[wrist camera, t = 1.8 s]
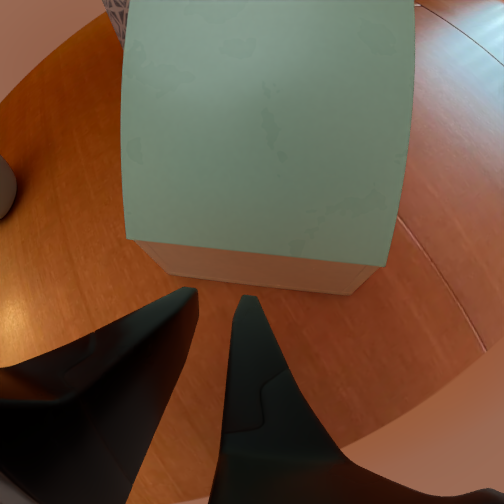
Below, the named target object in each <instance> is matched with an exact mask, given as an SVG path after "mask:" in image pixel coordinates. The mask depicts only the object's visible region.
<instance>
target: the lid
mask: <svg viewBox="0 0 504 504" xmlns="http://www.w3.org/2000/svg"><path fill="white" fill-rule="evenodd" d="M414 73H415V13H414V0H130V3H129V10H128V18H127V26H126V35H125V45H124V57H123V71H122V91H121V169H122V189H123V204H124V217H125V228H126V238H127V239H131V240H140V241H149V242H158V243H167V244H177V245H186V246H195V247H204V248H213V249H222V250H232V251H241V252H250V253H259V254H268V255H278V256H287V257H296V258H305V259H314V260H324V261H333V262H342V263H351V264H361V265H370V266H379V267H385V266H386V262H387V258H388V254H389V250H390V245H391V241H392V237H393V232H394V227H395V223H396V218H397V213H398V208H399V203H400V197H401V192H402V186H403V180H404V173H405V167H406V160H407V153H408V145H409V137H410V128H411V118H412V106H413V92H414Z"/></svg>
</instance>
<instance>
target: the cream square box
mask: <svg viewBox="0 0 504 504" xmlns="http://www.w3.org/2000/svg"><path fill="white" fill-rule="evenodd" d="M134 241H135V242H136V243H137V244H138V245H139V246H140V247H141V248H142V249H143V250H144V251H145V252H146V253H147V254H148V255H149V256H150V257H151V258H152V259H153V260H154V261H155V262H156V263H157V264H158V265H159V266H160V267H161V268H162V269H163V270H164V271H165V272H166V273H167V274H169V275H176V276H183V277H191V278H198V279H206V280H213V281H221V282H229V283H237V284H246V285H254V286H263V287H271V288H280V289H289V290H299V291H308V292H318V293H328V294H338V295H349V296H350V295H351V294H352V293H353V292H354V291H355V290H356V289H357V288H358V287H360V286H361V285H362V284H363V283H364V282H365V281H366V280H367V279H368V278H369V277H370V276H371V275H372V274H373V273H374V272H375V271H376V270H377V269H378V268H379V266H370V265H361V264H351V263H342V262H333V261H324V260H314V259H305V258H296V257H287V256H278V255H268V254H259V253H250V252H241V251H232V250H222V249H213V248H204V247H195V246H186V245H177V244H167V243H158V242H149V241H140V240H134Z"/></svg>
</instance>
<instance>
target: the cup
mask: <svg viewBox="0 0 504 504" xmlns="http://www.w3.org/2000/svg"><path fill="white" fill-rule="evenodd" d="M16 192H17V180H16V177H15V174H14V172H13V170H12V169H11V167H10V166H9V164H8V163H7V162H6V160H5V159H4V158H3V157H2V156H1V155H0V219H1V218H3V217H4V216H5V215H6V214H7V212H8V211H9V209H10V208H11V206H12V204H13V202H14V199H15V196H16Z"/></svg>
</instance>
